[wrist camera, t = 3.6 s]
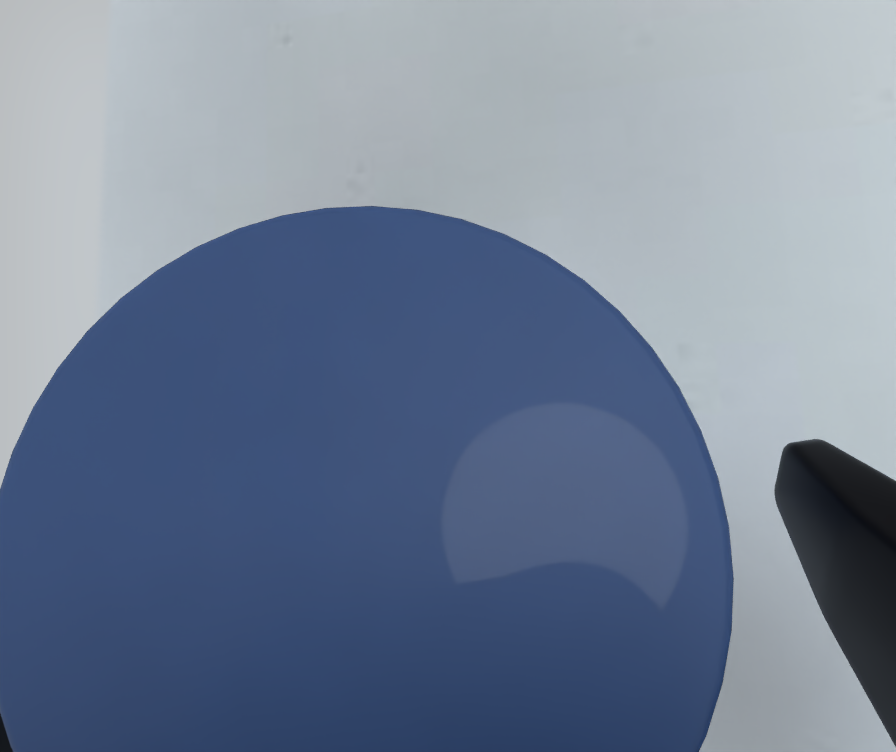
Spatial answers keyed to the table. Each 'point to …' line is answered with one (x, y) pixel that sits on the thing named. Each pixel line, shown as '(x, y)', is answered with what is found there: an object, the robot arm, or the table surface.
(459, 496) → the peg
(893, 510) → the robot arm
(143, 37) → the table surface
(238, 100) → the table surface
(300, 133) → the table surface
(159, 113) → the table surface
